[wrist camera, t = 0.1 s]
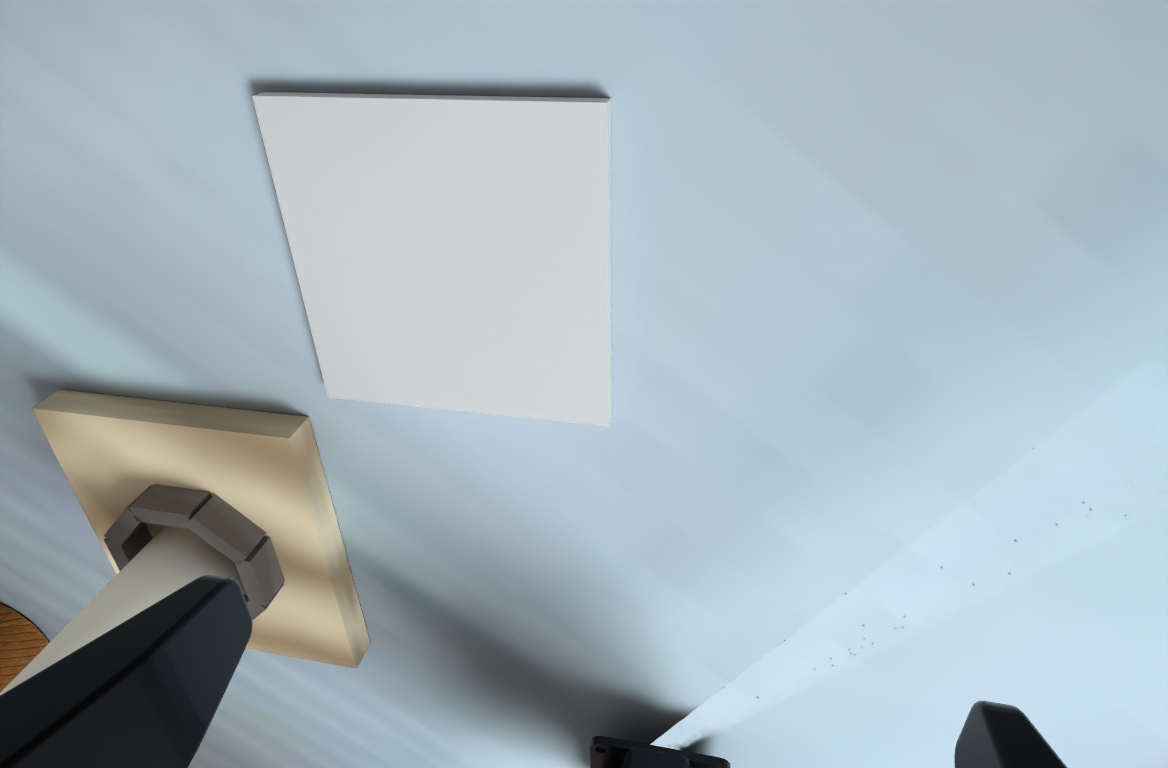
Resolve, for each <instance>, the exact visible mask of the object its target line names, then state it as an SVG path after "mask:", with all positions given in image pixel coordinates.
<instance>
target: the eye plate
mask: <svg viewBox="0 0 1168 768" xmlns="http://www.w3.org/2000/svg"><path fill="white" fill-rule="evenodd" d="M31 409H32V411H33V413H34V415H35V417H36V419H37V421H38V422H39V424H40V426H41V428H42V430H43V432H44V434H45V436H46V438H47V440H48V442H49V444H50V446H51V448H52V450H53V452H54V454H55V456H56V458H57V460H58V461H59V463H60V465H61V467H62V469H63V471H64V473H65V475H66V477H67V479H68V481H69V483H70V485H71V487H72V489H73V491H74V493H75V495H76V497H77V498H78V500H79V502H80V504H81V506H82V508H83V510H84V512H85V514H86V516H87V518H88V520H89V522H90V524H91V526H92V528H93V530H94V532H95V534H96V535H97V537H98V539H99V541H100V543H101V545H102V547H103V549H104V551H105V553H106V555H107V557H108V559H109V561H110V563H111V565H112V567H113V569H114V571H115V573H116V574H118V573H119V572H120V571H121V570H122V569H123V568H124V567H125V566H126V565H127V564H128V563H129V562H130V561H131V560H132V559H133V558H134V557H135V556H136V555H137V554H138V553H139V552H140V551H141V550H142V549H143V548H144V547H145V546H146V545H147V544H148V543H149V542H150V541H151V540H152V539H153V538H154V537H155V536H156V535H157V534H158V533H159V532H160V531H161V530H162V529H163V528H164V527H165V526H172V527H178V528H185V529H189V530H191V531H192V532H193V533H195V534H196V535H198V536H199V537H200V538H202V539H203V540H204V541H206V542H207V543H208V544H210V545H211V546H213V547H214V548H215V549H217V550H218V551H219V552H221V553H222V554H223V555H225V556H226V557H228V558H229V559H230V560H232V561H233V562H234V563H235V565H236V568H237V570H238V573H239V575H240V579H239V581H238V584H239V586H240V588H241V591H242V593H243V596H244V598H245V601H246V604H247V606H248V609H249V611H250V614H251V617H252V622H253V627H252V633H251V636H250V639H249V641H248V644H247V646H246V649H251V650H257V651H262V652H268V653H274V654H279V655H285V656H290V657H296V658H302V659H307V660H313V661H319V662H324V663H330V664H335V665H341V666H347V667H352V668H357V667H358V665H359V664H360V662H361V660H362V658H363V656H364V654H365V653H366V651H367V649H368V647H369V645H370V644H371V643H370V639H369V636H368V632H367V628H366V625H365V621H364V617H363V614H362V610H361V606H360V603H359V599H358V595H357V592H356V588H355V584H354V580H353V577H352V573H351V569H350V566H349V562H348V558H347V555H346V551H345V547H344V544H343V540H342V536H341V533H340V529H339V525H338V522H337V518H336V514H335V511H334V507H333V503H332V499H331V496H330V492H329V488H328V485H327V481H326V477H325V474H324V470H323V466H322V463H321V459H320V455H319V452H318V448H317V444H316V441H315V437H314V433H313V430H312V426H311V422H310V418H309V417H306V416H297V415H288V414H279V413H269V412H260V411H251V410H242V409H233V408H224V407H215V406H206V405H196V404H187V403H178V402H169V401H160V400H151V399H142V398H133V397H123V396H114V395H105V394H96V393H87V392H78V391H69V390H58V391H57V392H55V393H54V394H52V395H51V396H49V397H48V398H46V399H45V400H43V401H42V402H40V403H39V404H37V405H36V406H34V407H33V408H31Z"/></svg>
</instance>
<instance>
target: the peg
mask: <svg viewBox="0 0 1168 768" xmlns="http://www.w3.org/2000/svg"><path fill="white" fill-rule="evenodd" d="M204 575H216V576H222V577H228V578H232V579H234V580H236V581H237V582H238V581H239V579H240V575H239V573H238V570H237V568H236V565H235V563H234V562H233V561H232V560H230V559H229V558H228V557H226V556H225V555H223V554H222V553H221V552H219V551H218V550H217V549H215V548H214V547H213V546H211V545H210V544H208V543H207V542H206V541H204V540H203V539H202V538H200V537H199V536H198V535H196V534H195V533H193V532H192V531H191V530H189V529H185V528H178V527H172V526H165V527H164V528H163V529H162V530H161V531H160V532H159V533H158V534H157V535H156V536H155V537H154V538H153V539H152V540H151V541H150V542H149V543H148V544H147V545H146V546H145V547H144V548H143V549H142V550H141V551H140V552H139V553H138V554H137V555H136V556H135V557H134V558H133V559H132V560H131V561H130V562H129V563H128V564H127V565H126V566H125V567H124V568H123V569H122V570H121V571H120V572H119V573H118V574H117V575H116V576H115V577H114V578H113V579H112V580H111V581H110V582H109V583H108V584H107V585H106V586H105V587H104V588H103V589H102V590H101V591H100V592H99V593H98V594H97V595H96V596H95V597H94V598H93V599H92V600H91V602H90V603H89V604H88V605H87V606H86V607H85V608H84V609H83V610H82V611H81V612H80V613H79V614H78V615H77V616H76V617H75V618H74V619H73V620H72V621H71V622H70V623H69V624H68V625H67V626H66V627H65V628H64V629H63V630H62V631H61V632H60V633H59V634H58V635H57V636H56V637H55V638H54V639H53V640H52V641H51V642H50V643H49V644H48V645H47V646H46V647H45V648H44V649H43V650H42V651H41V652H40V653H39V654H38V655H37V656H36V657H35V658H34V659H33V660H32V661H31V662H30V663H29V664H28V665H27V666H26V667H25V668H24V669H23V670H22V671H21V672H20V673H19V674H18V675H17V676H16V677H15V678H14V679H13V680H12V681H11V682H10V683H9V684H8V685H7V686H6V687H5V688H4V689H3V690H2V691H1V692H0V695H2V694H3V693H5V692H7V691H8V690H10V689H12V688H13V687H15V686H17V685H18V684H20V683H22V682H24V681H25V680H27V679H29V678H30V677H32V676H34V675H35V674H37V673H39V672H40V671H42V670H44V669H45V668H47V667H49V666H50V665H52V664H54V663H55V662H57V661H59V660H61V659H62V658H64V657H66V656H67V655H69V654H71V653H72V652H74V651H76V650H77V649H79V648H81V647H82V646H84V645H86V644H87V643H89V642H91V641H92V640H94V639H96V638H98V637H99V636H101V635H103V634H104V633H106V632H108V631H109V630H111V629H113V628H114V627H116V626H118V625H119V624H121V623H123V622H124V621H126V620H128V619H130V618H131V617H133V616H135V615H136V614H138V613H140V612H141V611H143V610H145V609H146V608H148V607H150V606H151V605H153V604H155V603H156V602H158V601H160V600H161V599H163V598H165V597H167V596H168V595H170V594H172V593H173V592H175V591H177V590H178V589H180V588H182V587H183V586H185V585H187V584H188V583H190V582H192V581H193V580H195V579H197V578H199V577H201V576H204Z"/></svg>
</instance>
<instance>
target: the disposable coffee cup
mask: <svg viewBox="0 0 1168 768" xmlns="http://www.w3.org/2000/svg"><path fill="white" fill-rule="evenodd" d="M48 644H49V642H48V640H47V639H46V638H45V636H44V635H43V634H42V633H41V632H40V631H39V630H38V629H37V627H36V626H35V625H34V624H32V623H31V622H30V621H28V620H27V619H26V618H24V617H23V616H21V615H20V614H19V613H17V612H16V611H14V610H12V609H10V608H8V607H6V606H4V605H2V604H0V692H1V691H2V690H3V689H4V688H5V687H6V686H7V685H8V684H9V683H10V682H11V681H12V680H13V679H14V678H15V677H16V676H17V675H18V674H19V673H20V672H21V671H22V670H23V669H24V668H25V667H26V666H27V665H28V664H29V663H30V662H31V661H32V660H33V659H34V658H35V657H36V656H37V655H38V654H39V653H40V652H41V651H42V650H43V649H44V648H45V647H46V646H47V645H48Z"/></svg>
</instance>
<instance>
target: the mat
mask: <svg viewBox="0 0 1168 768" xmlns="http://www.w3.org/2000/svg"><path fill="white" fill-rule="evenodd" d="M252 98H253V102H254V106H255V110H256V114H257V118H258V122H259V126H260V130H261V134H262V138H263V142H264V146H265V150H266V154H267V158H268V161H269V165H270V169H271V173H272V177H273V181H274V185H275V189H276V193H277V197H278V201H279V205H280V209H281V213H282V217H283V221H284V225H285V229H286V233H287V237H288V241H289V245H290V249H291V253H292V257H293V261H294V265H295V269H296V273H297V277H298V281H299V285H300V289H301V293H302V297H303V301H304V305H305V309H306V313H307V317H308V321H309V325H310V329H311V333H312V337H313V341H314V345H315V349H316V353H317V357H318V361H319V365H320V369H321V373H322V377H323V381H324V385H325V389H326V393H327V397H328V398H338V399H348V400H357V401H367V402H377V403H386V404H396V405H406V406H415V407H425V408H435V409H444V410H454V411H463V412H473V413H483V414H492V415H502V416H512V417H521V418H531V419H541V420H550V421H560V422H570V423H579V424H589V425H599V426H608V427H609V425H610V422H611V419H612V274H611V98H568V97H513V96H459V95H404V94H349V93H294V92H262V93H259V94H256V95H253V96H252Z"/></svg>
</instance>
